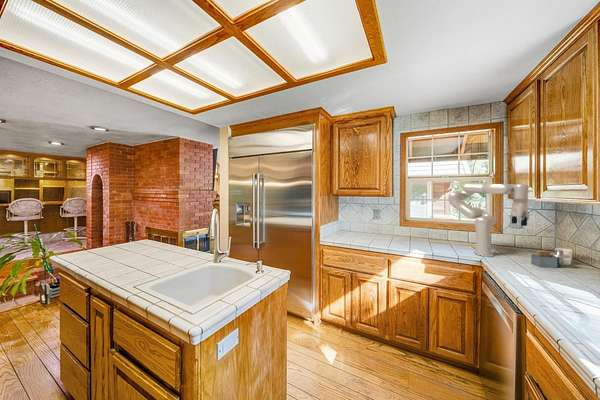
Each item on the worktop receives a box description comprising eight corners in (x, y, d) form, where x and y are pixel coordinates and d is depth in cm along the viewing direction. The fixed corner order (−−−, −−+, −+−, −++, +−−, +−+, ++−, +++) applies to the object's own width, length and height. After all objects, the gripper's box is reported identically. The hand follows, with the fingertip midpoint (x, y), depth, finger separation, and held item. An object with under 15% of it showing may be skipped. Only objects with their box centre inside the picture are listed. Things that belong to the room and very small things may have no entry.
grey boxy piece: (530, 263, 158) (530, 248, 158) (561, 264, 154) (561, 248, 154) (540, 267, 150) (540, 251, 149) (574, 269, 145) (574, 252, 145)
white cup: (561, 264, 154) (561, 250, 153) (551, 261, 161) (551, 247, 161) (576, 265, 152) (576, 250, 152) (565, 261, 160) (565, 248, 159)
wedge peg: (537, 264, 155) (537, 250, 155) (546, 265, 154) (546, 250, 154) (540, 266, 152) (540, 251, 152) (549, 266, 151) (549, 252, 151)
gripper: (506, 200, 171) (505, 222, 172) (522, 202, 154) (521, 226, 155) (517, 200, 169) (516, 222, 170) (535, 202, 152) (534, 226, 153)
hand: (518, 224), depth 163 cm, fingers open, 9 cm apart
